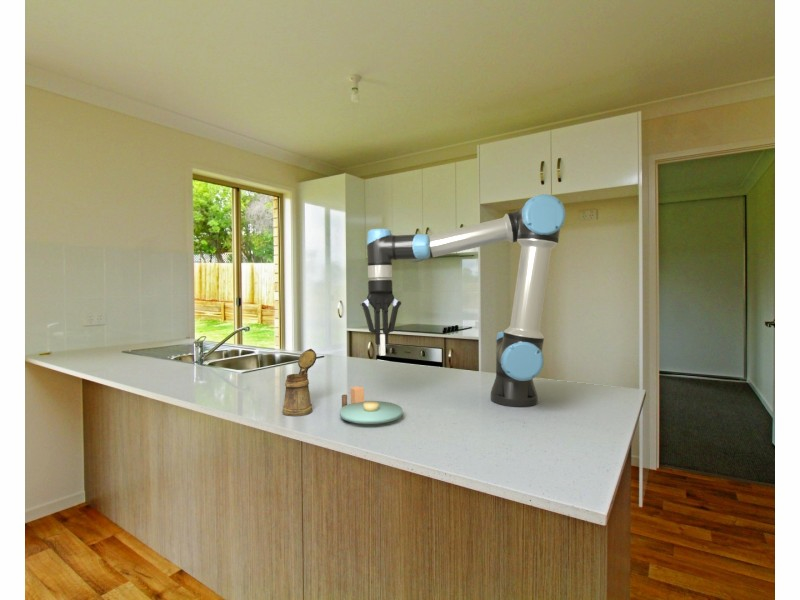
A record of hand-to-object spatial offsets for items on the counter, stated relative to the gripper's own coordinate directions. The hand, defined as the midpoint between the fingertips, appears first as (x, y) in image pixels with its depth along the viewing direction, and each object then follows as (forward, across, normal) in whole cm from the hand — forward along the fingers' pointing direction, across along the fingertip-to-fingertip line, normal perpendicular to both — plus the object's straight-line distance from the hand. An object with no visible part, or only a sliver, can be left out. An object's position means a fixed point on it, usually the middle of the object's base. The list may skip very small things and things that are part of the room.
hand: (382, 354), depth 136 cm
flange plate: (+15, +6, +8) cm, 18 cm away
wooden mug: (+16, +25, -4) cm, 30 cm away
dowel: (+16, +12, +1) cm, 21 cm away
